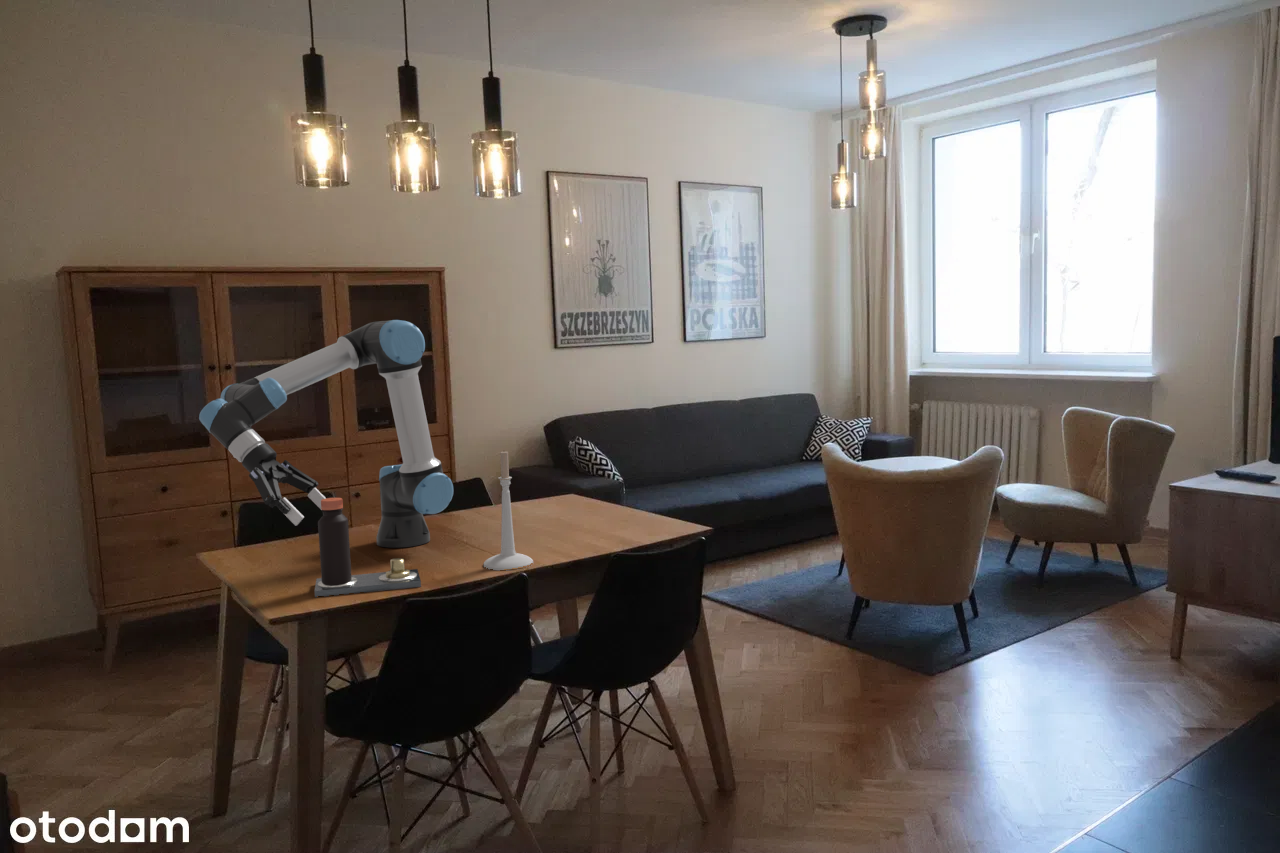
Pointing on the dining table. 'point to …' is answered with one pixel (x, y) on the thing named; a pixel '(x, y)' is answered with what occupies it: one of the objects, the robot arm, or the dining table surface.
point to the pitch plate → (374, 581)
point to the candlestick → (506, 528)
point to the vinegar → (334, 543)
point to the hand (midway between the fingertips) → (315, 515)
